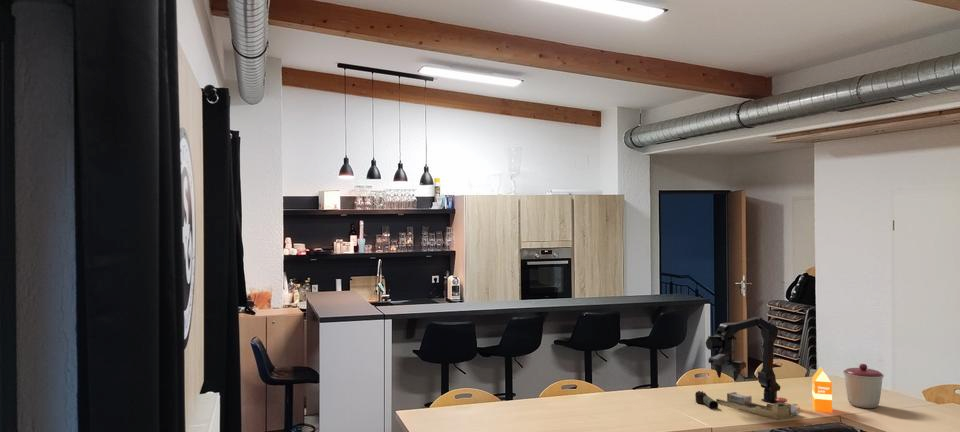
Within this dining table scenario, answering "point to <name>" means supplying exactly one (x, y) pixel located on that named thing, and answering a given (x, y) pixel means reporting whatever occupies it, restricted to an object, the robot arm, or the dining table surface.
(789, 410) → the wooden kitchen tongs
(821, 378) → the orange juice
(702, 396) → the grey brown wooden log
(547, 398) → the dining table surface
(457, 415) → the dining table surface
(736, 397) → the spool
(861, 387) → the canister
